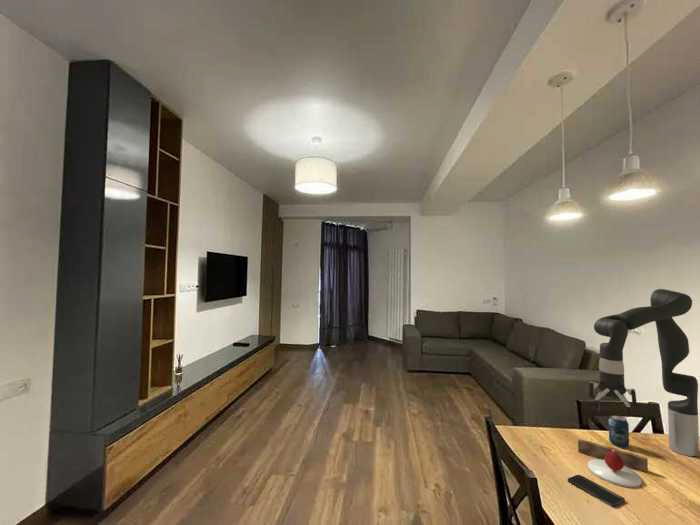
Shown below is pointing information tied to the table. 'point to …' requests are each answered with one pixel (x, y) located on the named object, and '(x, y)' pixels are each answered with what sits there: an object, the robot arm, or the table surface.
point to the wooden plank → (628, 458)
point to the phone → (596, 491)
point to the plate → (614, 474)
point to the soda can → (619, 431)
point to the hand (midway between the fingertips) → (612, 412)
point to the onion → (614, 461)
